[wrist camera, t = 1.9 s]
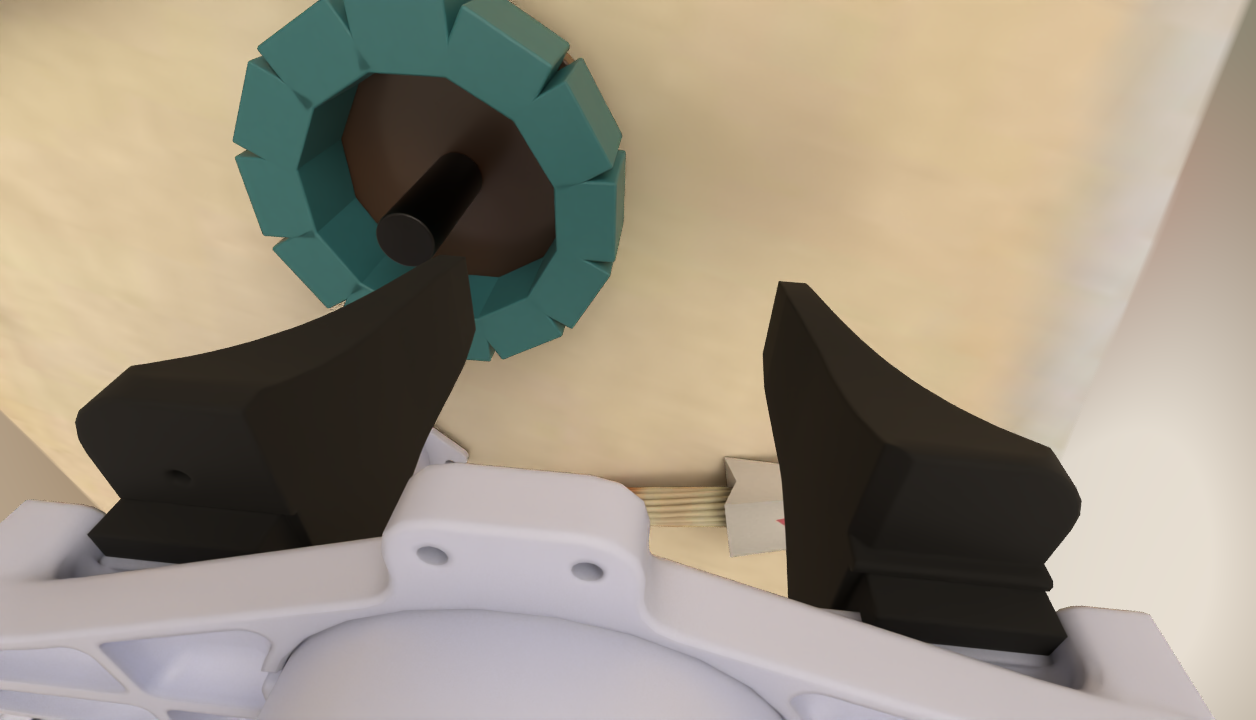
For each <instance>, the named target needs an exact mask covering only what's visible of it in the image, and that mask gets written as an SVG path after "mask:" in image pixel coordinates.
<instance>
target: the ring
mask: <svg viewBox="0 0 1256 720" xmlns="http://www.w3.org/2000/svg"><path fill="white" fill-rule="evenodd" d="M569 47H570V45H569V43H568V42H567V41H565V40H564V39H562V38H561V37H559V36H558V35H557V34H555V33H554V32H552V31H551V30H549V29H548V28H547V27H545V26H544V25H542V24H541V23H539V22H538V21H536V20H535V19H534V18H532V17H531V16H529V15H528V14H526V13H525V12H524V11H522V10H521V9H519V8H518V7H516V6H515V5H514V4H512V3H511V2H509V1H508V0H319V1H317V2H316V3H315V4H313V5H312V6H311V7H309V8H308V9H307V10H305V11H304V12H303V13H301V14H300V15H299V16H297V17H296V18H295V19H293V20H292V21H291V22H289V23H288V24H287V25H285V26H284V27H283V28H281V29H280V30H279V31H277V32H276V33H275V34H273V35H272V36H271V37H269V38H268V39H267V40H266V41H264V42H263V43H262V44H260V45H259V46H258V48H257V49H258V51H259V52H260V53H261V55H262V56H261V57H258V58H255V59H253V60H250V61H249V62H248V65H247V70H246V75H245V80H244V85H243V90H242V96H241V101H240V106H239V111H238V116H237V121H236V126H235V131H234V136H233V142H234V143H236V144H238V145H239V146H241V147H243V148H245V149H247V150H246V151H244V152H242V153H241V154H239V155H237V156H236V157H235V160H236V163H237V165H238V168H239V171H240V174H241V176H242V179H243V182H244V184H245V187H246V190H247V193H248V195H249V198H250V201H251V204H252V206H253V209H254V212H255V214H256V217H257V220H258V223H259V225H260V228H261V231H262V234H263V235H264V236H274V237H285V238H283V239H282V240H281V241H280V242H279V243H277V244H276V245H275V246H274V247H273V251H274V252H275V253H276V254H277V255H278V256H279V257H280V258H281V259H282V260H283V261H284V262H285V264H286V265H287V266H288V267H289V268H290V269H291V270H292V271H293V272H294V273H295V274H296V275H297V276H298V277H299V278H300V280H301V281H302V282H303V283H304V284H305V285H306V286H307V287H308V288H309V289H310V290H311V291H312V292H313V293H314V294H315V296H316V297H317V298H318V299H319V300H320V301H321V302H322V303H323V304H324V305H325V306H326V307H327V308H331V307H333V306H335V305H337V304H339V303H341V302H343V301H345V300H346V302H345V305H344V306H346V305H348V304H350V303H352V302H354V301H356V300H358V299H360V298H362V297H363V296H365V295H367V294H369V293H371V292H373V291H375V290H377V289H379V288H380V287H382V286H384V285H386V284H387V283H389V282H391V281H393V280H394V279H396V278H398V277H400V276H401V275H403V274H405V273H407V272H408V271H410V270H412V269H413V268H415V267H417V266H415V267H410V266H405V265H402V264H399V263H397V262H395V261H393V260H392V259H391V258H389V257H388V256H387V255H386V254H385V253H384V252H383V250H382V249H381V247H380V246H379V243H378V241H377V236H376V229H377V225H378V224H377V223H376V222H375V220H374V219H373V218H372V217H371V216H370V214H369V213H368V212H367V211H366V209H365V208H364V207H363V206H362V204H361V203H360V202H359V201H358V199H357V198H356V196H355V192H354V188H353V184H352V180H351V176H350V172H349V168H348V164H347V160H346V156H345V152H344V148H343V144H342V140H341V138H342V135H343V132H344V129H345V125H346V122H347V119H348V116H349V113H350V109H351V106H352V103H353V100H354V97H355V94H356V90H357V87H358V84H359V83H360V82H362V81H363V80H365V79H366V78H368V77H369V76H371V75H372V74H374V73H380V74H396V75H411V76H427V77H443V78H447V79H448V80H450V81H451V82H453V83H454V84H456V85H457V86H459V87H461V88H462V89H464V90H465V91H467V92H468V93H470V94H472V95H473V96H475V97H476V98H478V99H479V100H481V101H482V102H484V103H486V104H487V105H489V106H490V107H492V108H493V109H495V110H497V111H498V112H500V113H501V114H503V115H504V116H506V117H507V118H509V119H511V120H512V121H513V122H514V123H515V125H516V126H517V128H518V130H519V131H520V133H521V135H522V136H523V138H524V140H525V141H526V143H527V145H528V146H529V148H530V150H531V151H532V153H533V154H534V156H535V158H536V159H537V161H538V163H539V164H540V166H541V168H542V169H543V171H544V173H545V174H546V176H547V177H548V179H549V181H550V182H551V184H552V186H553V187H554V210H555V235H556V238H555V239H554V241H553V242H552V244H551V246H550V247H549V249H548V251H547V252H546V254H545V255H544V257H542V258H540V259H538V260H536V261H534V262H531V263H529V264H527V265H525V266H523V267H521V268H518V269H516V270H514V271H512V272H510V273H507V274H505V275H503V276H501V277H490V276H478V275H468V277H469V284H470V291H471V298H472V305H473V312H474V319H475V326H476V331H475V334H474V338H473V341H472V344H471V347H470V350H469V353H468V356H467V359H466V360H478V361H491V358H492V356H493V354H494V352H495V351H496V352H497V353H498V355H499V356H500V357H501V358H502V359H506V358H508V357H511V356H513V355H516V354H518V353H521V352H523V351H526V350H528V349H531V348H533V347H536V346H538V345H541V344H543V343H546V342H548V341H551V340H553V339H556V338H558V337H561V336H562V335H563V331H564V328H565V326H567V327H569V328H571V329H572V328H573V327H574V326H575V324H576V323H577V321H578V320H579V319H580V317H581V316H582V314H583V313H584V312H585V310H586V309H587V307H588V306H589V305H590V303H591V302H592V301H593V299H594V298H595V296H596V295H597V294H598V292H599V291H600V289H601V288H602V287H603V285H604V284H605V282H606V281H607V280H608V278H609V277H610V274H611V269H612V265H613V262H614V261H615V258H616V254H617V249H618V245H619V240H620V236H621V231H622V226H623V221H624V192H625V164H626V153H625V151H623V150H618V148H619V145H620V141H621V138H622V134H621V132H620V130H619V128H618V126H617V124H616V122H615V120H614V118H613V116H612V114H611V112H610V110H609V108H608V106H607V105H606V103H605V101H604V99H603V97H602V95H601V93H600V91H599V89H598V87H597V85H596V83H595V81H594V79H593V77H592V75H591V73H590V71H589V70H588V68H587V66H586V64H585V62H584V60H583V59H582V58H579V59H577V60H576V61H574V62H572V63H571V64H569V65H567V66H565V67H564V68H562V69H560V70H558V69H559V67H560V65H561V63H562V61H563V59H564V57H565V55H566V53H567V51H568V50H569Z"/></svg>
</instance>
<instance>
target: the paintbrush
mask: <svg viewBox="0 0 1256 720" xmlns="http://www.w3.org/2000/svg"><path fill="white" fill-rule="evenodd" d="M724 460H725V470H726V479H727V487H640V488H628V489H629V490H630V491H632V492H633V493H634V494H635V495H637V496H638V497H639V498H640V499H642V500H643V501H644V503H645V506H646V509H647V513H648V516H649V519H650V526H671V527H727V533H728V543H729V552H730V557H737V556H744V555H752V554H759V553H766V552H773V551H780V550H786V538H785V521H784V507H783V493H782V481H781V474H780V467H779V464H778V463H770V462H762V461H754V460H746V459H737V458H729V457H724Z"/></svg>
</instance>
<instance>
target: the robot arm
mask: <svg viewBox="0 0 1256 720" xmlns="http://www.w3.org/2000/svg"><path fill="white" fill-rule="evenodd" d="M475 331H476V326H475V319H474V312H473V305H472V298H471V291H470V284H469V277H468V270H467V263H466V257H462V256H450V255H438V256H436V257H434V258H432V259H430V260H428V261H426V262H424V263H422V264H420V265H419V266H417V267H415V268H413V269H412V270H410V271H408V272H407V273H405V274H403V275H401V276H400V277H398V278H396V279H394V280H393V281H391V282H389V283H387V284H386V285H384V286H382V287H380V288H379V289H377V290H375V291H373V292H371V293H369V294H367V295H365V296H363V297H362V298H360V299H358V300H356V301H354V302H352V303H350V304H348V305H346V306H344V307H342V308H340V309H338V310H336V311H334V312H331V313H329V314H327V315H325V316H322V317H320V318H317V319H315V320H312V321H310V322H307V323H305V324H303V325H300V326H297V327H294V328H292V329H288V330H285V331H282V332H279V333H276V334H273V335H270V336H267V337H264V338H261V339H258V340H255V341H251V342H248V343H244V344H240V345H236V346H233V347H229V348H225V349H220V350H216V351H212V352H207V353H203V354H198V355H193V356H189V357H183V358H177V359H171V360H165V361H160V362H154V363H148V364H142V365H135V366H131V367H129V368H128V369H127V370H125V371H124V372H123V373H122V374H121V375H120V376H119V377H117V378H116V379H115V380H114V381H113V382H112V383H110V384H109V385H108V386H107V387H106V388H105V389H104V390H102V391H101V392H100V393H99V394H98V395H97V396H95V397H94V398H93V399H92V400H91V401H90V402H89V403H87V404H86V405H85V406H84V407H83V408H82V409H80V410H79V412H78V415H77V418H76V421H75V424H76V429H77V434H78V438H79V441H80V443H81V444H82V446H83V448H84V449H85V451H86V453H87V454H88V456H89V457H90V458H91V460H92V461H93V462H94V464H95V465H96V466H97V468H98V469H99V470H100V472H101V473H102V474H103V476H104V477H105V478H106V480H107V481H108V482H109V484H110V485H111V486H112V488H113V489H114V490H115V492H116V493H117V494H118V496H119V497H120V498H121V499H120V500H119V501H118V502H117V503H116V504H115V506H114V507H113V508H112V509H111V510H110V511H109V512H108V513H107V514H106V513H104V512H103V511H101V510H99V509H97V508H95V507H92V506H88V505H84V504H74V503H64V502H54V501H44V500H34V499H33V500H25V501H24V502H23V503H22V504H21V505H20V506H19V507H18V508H17V509H15V510H14V512H12V513H11V514H10V515H9V516H8V517H7V518H6V519H4V520H3V521H2V522H1V523H0V720H1215V718H1214V717H1213V715H1212V713H1211V712H1210V710H1209V709H1208V707H1207V705H1206V704H1205V702H1204V701H1203V699H1202V697H1201V696H1200V694H1199V692H1198V691H1197V689H1196V688H1195V686H1194V684H1193V683H1192V681H1191V680H1190V678H1189V676H1188V675H1187V673H1186V672H1185V670H1184V668H1183V667H1182V665H1181V664H1180V662H1179V661H1178V659H1177V657H1176V656H1175V654H1174V652H1173V651H1172V649H1171V648H1170V646H1169V644H1168V643H1167V641H1166V640H1165V638H1164V636H1163V635H1162V633H1161V632H1160V630H1159V628H1158V627H1157V625H1156V624H1155V622H1154V620H1153V619H1152V617H1151V616H1150V615H1149V614H1146V613H1144V612H1137V611H1128V610H1118V609H1108V608H1098V607H1088V606H1070V607H1066V608H1063V609H1059V610H1058V611H1057V612H1055V610H1054V608H1053V606H1052V604H1051V602H1050V600H1049V598H1048V596H1047V594H1046V592H1045V591H1050V590H1051V589H1052V588H1053V580H1052V578H1051V576H1050V574H1049V572H1048V571H1047V569H1046V567H1045V565H1044V563H1045V562H1046V561H1047V560H1048V558H1049V557H1050V556H1051V555H1052V553H1053V552H1054V551H1055V550H1056V548H1057V547H1058V546H1059V545H1060V543H1061V542H1062V541H1063V540H1064V538H1065V537H1066V536H1067V535H1068V533H1069V532H1070V531H1071V530H1072V528H1073V526H1074V524H1075V523H1076V521H1077V519H1078V517H1079V516H1080V510H1081V498H1080V496H1079V494H1078V491H1077V489H1076V487H1075V485H1074V484H1073V482H1072V481H1071V479H1070V477H1069V476H1068V474H1067V473H1066V471H1065V469H1064V468H1063V466H1062V465H1061V463H1060V462H1059V460H1058V458H1057V457H1056V455H1055V454H1054V452H1053V451H1052V450H1051V448H1049V447H1047V446H1044V445H1042V444H1039V443H1037V442H1034V441H1032V440H1029V439H1027V438H1024V437H1022V436H1019V435H1017V434H1014V433H1012V432H1009V431H1007V430H1004V429H1002V428H999V427H997V426H995V425H993V424H991V423H989V422H987V421H985V420H982V419H980V418H978V417H976V416H974V415H972V414H970V413H968V412H966V411H964V410H962V409H960V408H958V407H957V406H955V405H953V404H951V403H949V402H947V401H946V400H944V399H942V398H941V397H939V396H937V395H936V394H934V393H932V392H930V391H929V390H927V389H925V388H924V387H922V386H921V385H919V384H918V383H916V382H915V381H913V380H912V379H910V378H909V377H907V376H906V375H905V374H903V373H902V372H900V371H899V370H898V369H896V368H895V367H894V366H892V365H891V364H889V363H888V362H887V361H886V360H884V359H883V358H882V357H881V356H879V355H878V354H877V353H876V352H875V351H874V350H872V349H871V348H870V347H869V346H868V345H867V344H866V343H864V342H863V341H862V340H861V339H860V338H859V337H858V336H857V335H856V334H855V333H854V332H853V331H852V330H851V329H850V328H849V327H848V326H847V325H846V324H845V323H844V322H843V321H842V320H841V319H840V318H839V317H838V316H837V315H836V314H835V313H834V312H833V311H832V310H831V309H830V308H829V307H828V306H827V305H826V304H825V303H824V301H823V300H822V299H821V298H820V297H819V296H818V295H817V294H816V293H815V292H814V291H813V290H812V289H811V288H810V287H809V286H808V285H807V284H806V283H795V282H782V281H779V283H778V287H777V292H776V296H775V301H774V305H773V310H772V314H771V319H770V323H769V328H768V333H767V337H766V342H765V346H764V351H763V371H764V389H765V395H766V400H767V406H768V411H769V416H770V421H771V426H772V431H773V436H774V441H775V447H776V452H777V457H778V462H779V467H780V474H781V481H782V493H783V507H784V521H785V538H786V555H787V580H788V598H786V597H783V596H780V595H777V594H774V593H771V592H767V591H764V590H761V589H758V588H755V587H752V586H749V585H746V584H743V583H740V582H737V581H733V580H730V579H727V578H724V577H721V576H718V575H715V574H712V573H709V572H706V571H703V570H699V569H696V568H693V567H690V566H687V565H684V564H681V563H678V562H675V561H672V560H669V559H665V558H662V557H659V556H656V555H653V554H651V552H650V551H649V530H650V519H649V516H648V513H647V509H646V506H645V503H644V501H643V500H642V499H640V498H639V497H638V496H637V495H635V494H634V493H633V492H632V491H630V490H629V489H628V488H626V487H625V486H624V485H623V484H621V483H619V482H615V481H612V480H608V479H604V478H601V477H597V476H593V475H585V474H575V473H564V472H554V471H543V470H533V469H522V468H512V467H501V466H491V465H480V464H469V463H467V461H468V458H469V454H468V452H467V451H466V450H465V449H463V448H462V447H460V446H459V445H458V444H456V443H455V442H453V441H452V440H451V439H449V438H448V437H446V436H445V435H444V434H442V433H441V432H439V431H438V430H436V429H435V428H434V427H433V426H434V424H435V422H436V420H437V418H438V416H439V414H440V412H441V410H442V408H443V406H444V404H445V402H446V400H447V398H448V397H449V395H450V393H451V391H452V389H453V387H454V385H455V383H456V381H457V379H458V377H459V375H460V373H461V371H462V369H463V367H464V365H465V362H466V359H467V356H468V353H469V350H470V347H471V344H472V341H473V338H474V334H475ZM450 460H451V461H450Z"/></svg>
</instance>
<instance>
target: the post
mask: <svg viewBox="0 0 1256 720" xmlns="http://www.w3.org/2000/svg"><path fill="white" fill-rule="evenodd" d="M572 62H574V60H573V58H572V57H571V56H570V55H569V54H568V53H566V55H565V57H564V59H563V61H562V63H561V65H560V67H559V69H558V70H560V69H562V68H564V67H565V66H567V65H569V64H571V63H572ZM341 140H342V144H343V148H344V152H345V156H346V160H347V164H348V168H349V172H350V176H351V180H352V184H353V188H354V192H355V196H356V198H357V199H358V201H359V202H360V203H361V204H362V206H363V207H364V208H365V209H366V211H367V212H368V213H369V214H370V216H371V217H372V218H373V219H374V220H375V222H376V223H377V224H378V225H377V229H376V236H377V241H378V243H379V246H380V247H381V249H382V250H383V252H384V253H385V254H386V255H387V256H388V257H389V258H391V259H392V260H393V261H395V262H397V263H399V264H402V265H405V266H410V267H415V266H419V265H420V264H422V263H424V262H426V261H428V260H430V259H432V258H434V257H436V256H438V255H450V256H462V257H466V263H467V270H468V275H478V276H490V277H501V276H503V275H505V274H507V273H510V272H512V271H514V270H516V269H518V268H521V267H523V266H525V265H527V264H529V263H531V262H534V261H536V260H538V259H540V258H542V257H544V255H545V254H546V252H547V251H548V249H549V247H550V246H551V244H552V242H553V241H554V239H555V238H556V235H555V210H554V187H553V186H552V184H551V182H550V181H549V179H548V177H547V176H546V174H545V173H544V171H543V169H542V168H541V166H540V164H539V163H538V161H537V159H536V158H535V156H534V154H533V153H532V151H531V150H530V148H529V146H528V145H527V143H526V141H525V140H524V138H523V136H522V135H521V133H520V131H519V130H518V128H517V126H516V125H515V123H514V122H513V121H512V120H511V119H509V118H507V117H506V116H504V115H503V114H501V113H500V112H498V111H497V110H495V109H493V108H492V107H490V106H489V105H487V104H486V103H484V102H482V101H481V100H479V99H478V98H476V97H475V96H473V95H472V94H470V93H468V92H467V91H465V90H464V89H462V88H461V87H459V86H457V85H456V84H454V83H453V82H451V81H450V80H448V79H447V78H443V77H427V76H411V75H396V74H380V73H374V74H372V75H371V76H369V77H368V78H366V79H365V80H363V81H362V82H360V83H359V84H358V87H357V90H356V94H355V97H354V100H353V103H352V106H351V109H350V113H349V116H348V119H347V122H346V125H345V129H344V132H343V135H342V138H341Z"/></svg>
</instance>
